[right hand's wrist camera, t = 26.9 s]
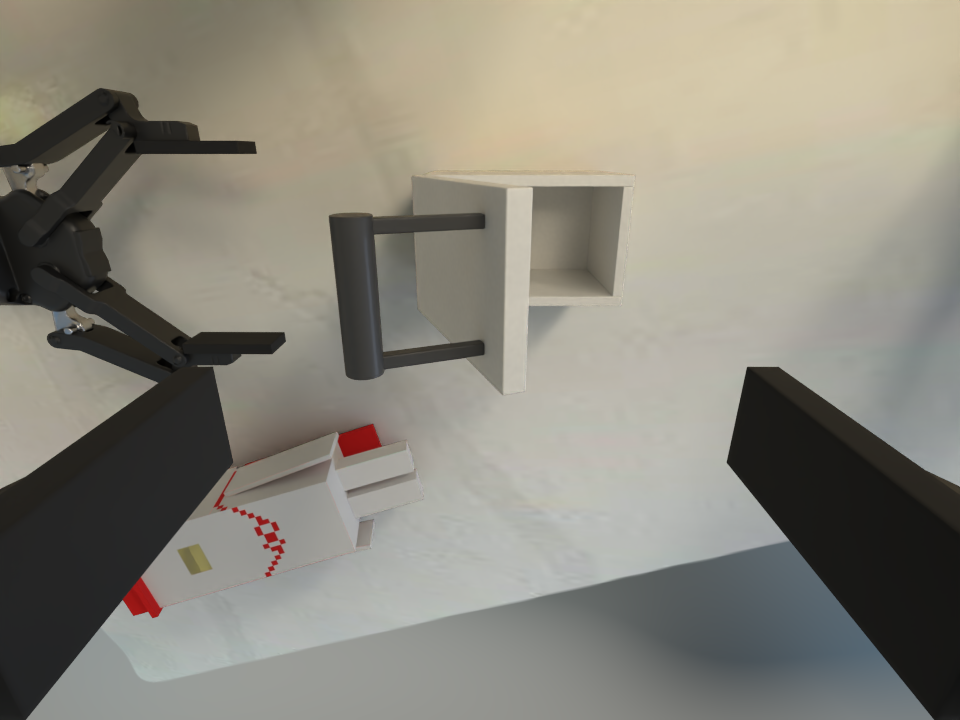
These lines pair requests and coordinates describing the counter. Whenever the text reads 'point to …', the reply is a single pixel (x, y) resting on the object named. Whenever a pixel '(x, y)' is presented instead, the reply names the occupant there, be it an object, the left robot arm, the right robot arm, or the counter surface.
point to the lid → (444, 278)
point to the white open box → (572, 233)
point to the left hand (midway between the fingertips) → (264, 252)
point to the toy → (281, 517)
